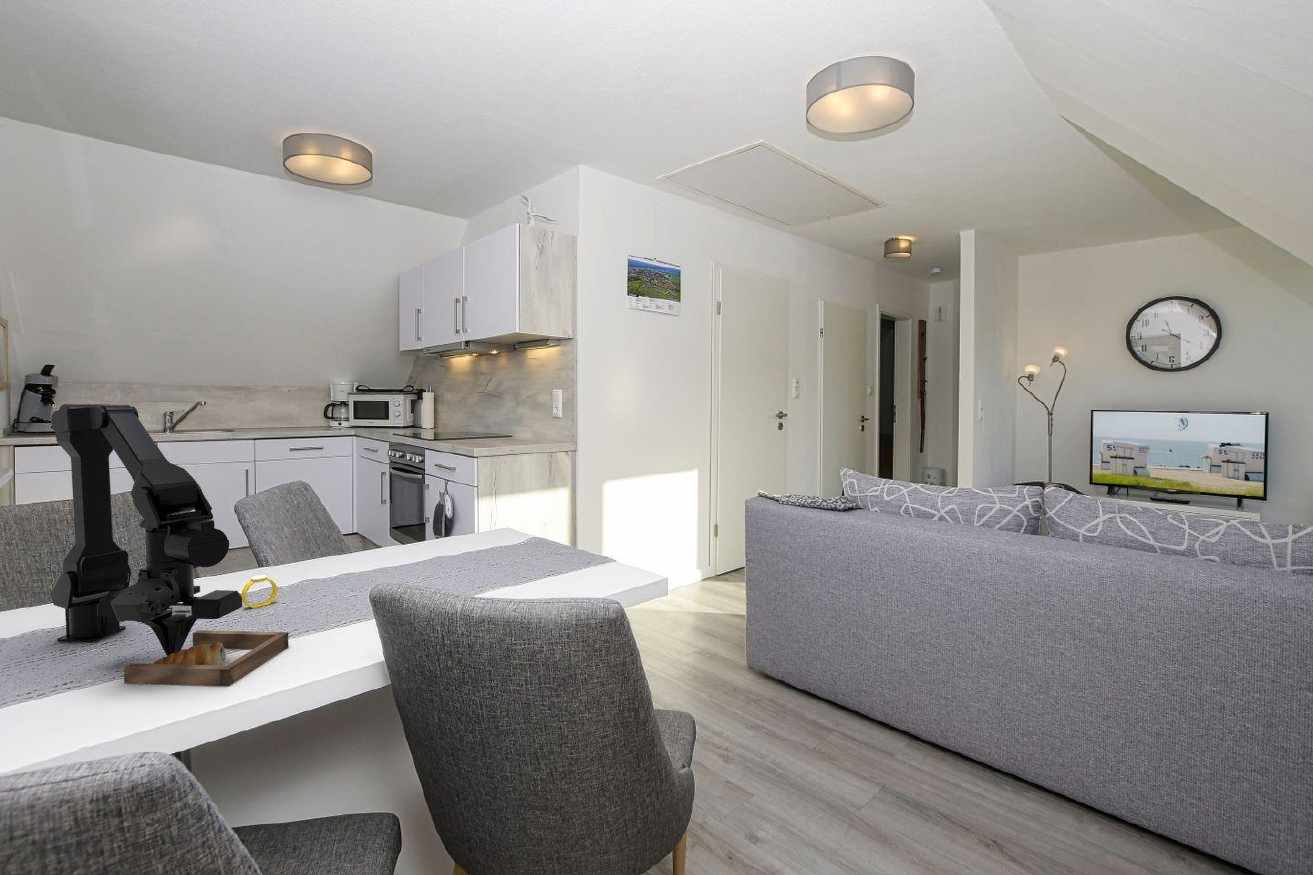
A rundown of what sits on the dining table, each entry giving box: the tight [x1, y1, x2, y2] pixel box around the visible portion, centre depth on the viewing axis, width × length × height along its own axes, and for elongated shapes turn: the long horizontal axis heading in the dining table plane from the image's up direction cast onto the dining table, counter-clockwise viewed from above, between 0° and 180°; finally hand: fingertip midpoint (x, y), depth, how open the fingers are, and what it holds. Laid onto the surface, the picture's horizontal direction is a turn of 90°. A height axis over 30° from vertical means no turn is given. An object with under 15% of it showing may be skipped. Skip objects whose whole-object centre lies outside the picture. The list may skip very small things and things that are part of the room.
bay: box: [123, 629, 289, 687], centre depth 98 cm, size 15×14×2 cm
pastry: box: [152, 642, 227, 666], centre depth 96 cm, size 9×7×4 cm
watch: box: [241, 574, 278, 609], centre depth 125 cm, size 6×3×6 cm, turn 145°
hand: (173, 657), depth 98 cm, fingers closed
